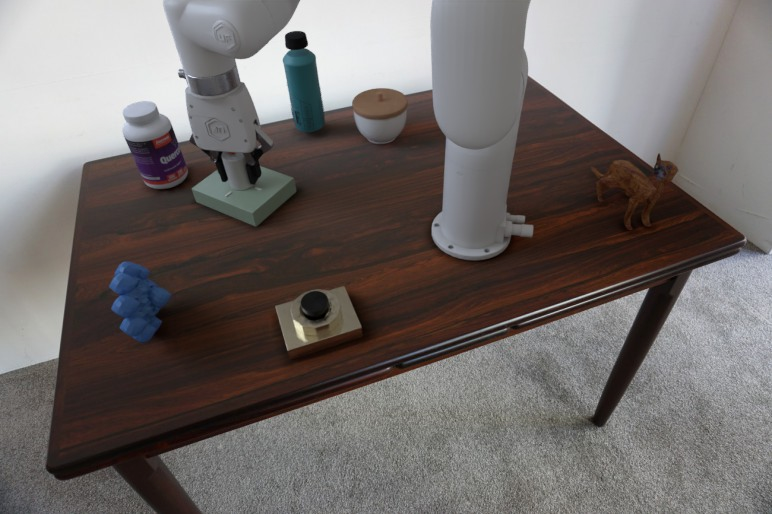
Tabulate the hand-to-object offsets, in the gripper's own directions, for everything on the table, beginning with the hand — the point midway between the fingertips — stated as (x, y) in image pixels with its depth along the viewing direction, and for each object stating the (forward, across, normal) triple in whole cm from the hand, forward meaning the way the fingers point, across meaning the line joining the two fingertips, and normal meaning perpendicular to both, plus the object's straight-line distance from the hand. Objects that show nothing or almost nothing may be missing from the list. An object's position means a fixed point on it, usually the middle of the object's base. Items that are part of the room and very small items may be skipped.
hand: (241, 177), depth 90 cm
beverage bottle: (+4, +5, +23) cm, 24 cm away
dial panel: (+4, 0, 0) cm, 4 cm away
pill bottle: (+4, -17, +3) cm, 18 cm away
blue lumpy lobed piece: (+4, -1, -30) cm, 30 cm away
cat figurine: (+4, +64, +7) cm, 64 cm away
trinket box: (+4, +20, +23) cm, 31 cm away
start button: (+1, +21, -26) cm, 33 cm away
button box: (+4, +21, -26) cm, 34 cm away
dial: (+1, 0, 0) cm, 1 cm away
